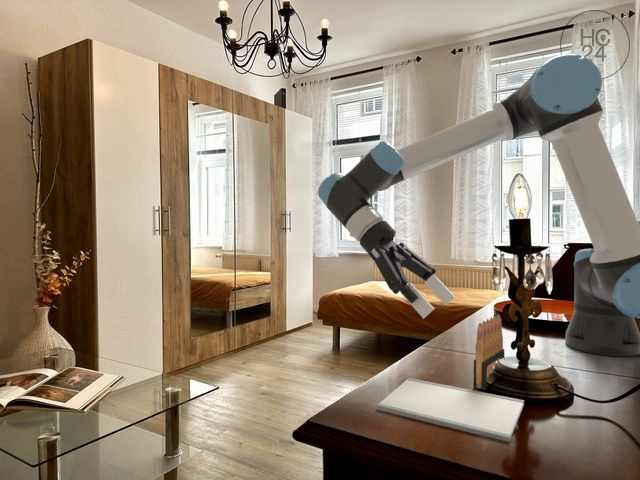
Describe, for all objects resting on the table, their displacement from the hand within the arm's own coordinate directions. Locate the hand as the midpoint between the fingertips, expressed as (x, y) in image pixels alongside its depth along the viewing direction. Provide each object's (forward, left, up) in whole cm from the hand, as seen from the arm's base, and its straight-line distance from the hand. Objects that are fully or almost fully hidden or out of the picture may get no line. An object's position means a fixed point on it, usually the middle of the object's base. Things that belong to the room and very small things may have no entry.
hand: (440, 307), depth 86 cm
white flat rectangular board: (-6, +15, -13) cm, 21 cm away
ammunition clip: (-9, 0, -13) cm, 16 cm away
